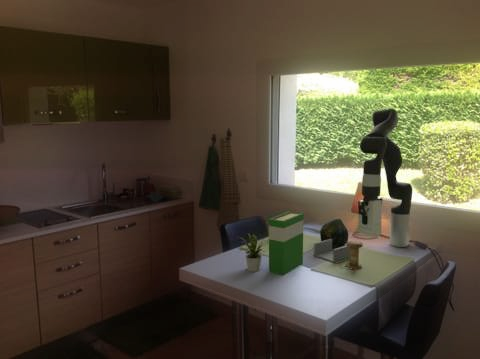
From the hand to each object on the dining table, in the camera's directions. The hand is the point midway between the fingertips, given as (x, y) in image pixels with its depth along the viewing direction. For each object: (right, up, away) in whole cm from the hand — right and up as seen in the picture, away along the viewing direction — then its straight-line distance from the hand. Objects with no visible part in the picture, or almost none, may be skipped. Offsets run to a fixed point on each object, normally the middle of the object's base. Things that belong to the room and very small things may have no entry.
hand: (369, 223), depth 184 cm
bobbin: (-4, -21, +12) cm, 24 cm away
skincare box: (0, -5, +1) cm, 5 cm away
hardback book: (-34, -22, +11) cm, 42 cm away
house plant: (-50, -22, +10) cm, 56 cm away
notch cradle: (-10, -19, +25) cm, 33 cm away
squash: (-6, -16, +44) cm, 47 cm away
